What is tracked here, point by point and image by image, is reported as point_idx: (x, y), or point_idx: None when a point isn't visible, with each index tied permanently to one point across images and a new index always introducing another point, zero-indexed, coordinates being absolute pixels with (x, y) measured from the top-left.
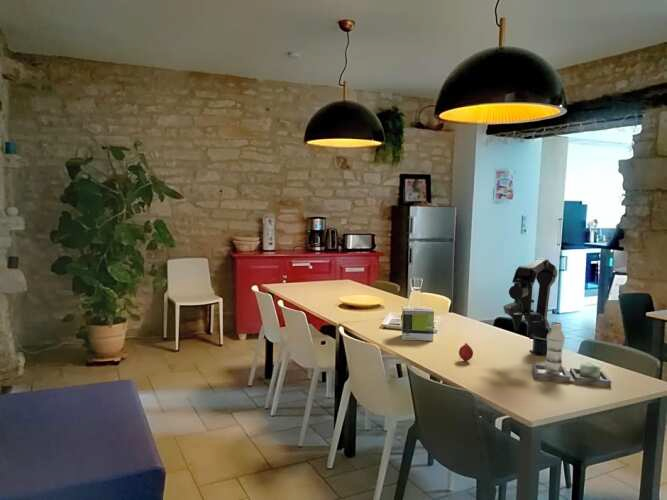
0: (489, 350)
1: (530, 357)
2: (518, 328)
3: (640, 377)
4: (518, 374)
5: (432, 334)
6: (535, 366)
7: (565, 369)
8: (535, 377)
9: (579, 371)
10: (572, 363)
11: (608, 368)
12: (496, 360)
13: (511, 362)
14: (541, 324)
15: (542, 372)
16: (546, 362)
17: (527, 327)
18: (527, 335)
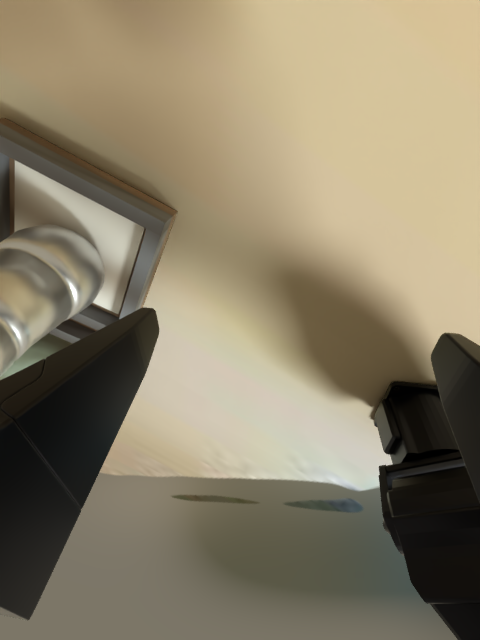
0: None
1: (380, 337)
2: (440, 389)
3: (124, 465)
4: (82, 46)
5: None
6: (116, 209)
7: (92, 326)
8: (12, 125)
9: None
10: (255, 419)
11: (196, 459)
12: (429, 58)
13: (339, 169)
14: (440, 576)
15: (80, 214)
16: (18, 243)
17: (40, 376)
18: (144, 311)
